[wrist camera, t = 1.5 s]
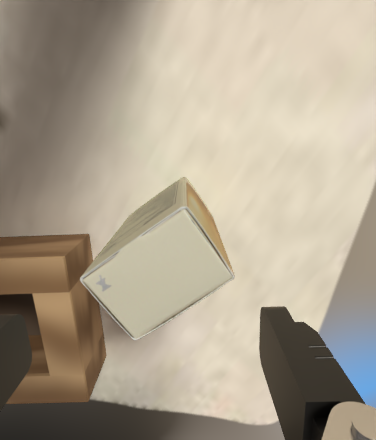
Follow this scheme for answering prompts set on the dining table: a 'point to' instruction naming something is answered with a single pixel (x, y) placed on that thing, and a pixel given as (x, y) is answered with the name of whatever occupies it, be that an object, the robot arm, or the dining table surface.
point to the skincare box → (159, 262)
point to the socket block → (53, 315)
